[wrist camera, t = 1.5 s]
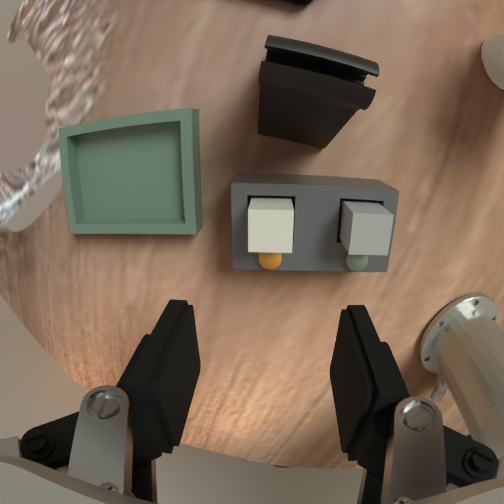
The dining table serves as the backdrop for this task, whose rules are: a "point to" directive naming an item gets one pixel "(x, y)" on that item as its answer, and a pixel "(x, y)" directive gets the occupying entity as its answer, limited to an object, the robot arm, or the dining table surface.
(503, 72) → the foam cup
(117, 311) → the dining table surface
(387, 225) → the block
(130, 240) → the dining table surface
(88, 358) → the dining table surface
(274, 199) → the block
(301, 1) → the light switch
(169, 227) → the tray
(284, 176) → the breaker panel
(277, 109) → the phone stand
